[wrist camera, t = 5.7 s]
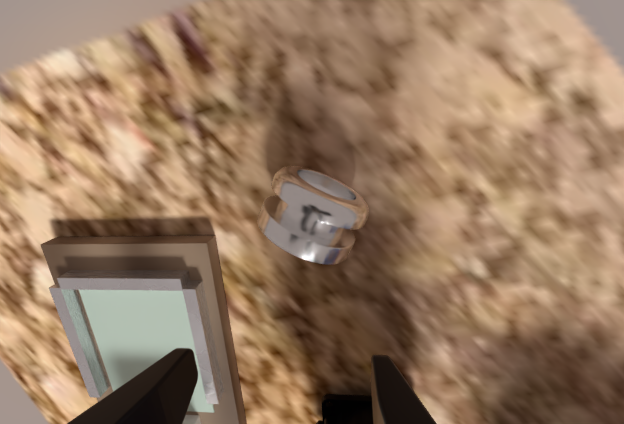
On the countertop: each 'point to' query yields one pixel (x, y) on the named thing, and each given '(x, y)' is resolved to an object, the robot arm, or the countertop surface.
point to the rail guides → (134, 280)
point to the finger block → (192, 419)
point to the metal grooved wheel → (312, 215)
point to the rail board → (153, 310)
